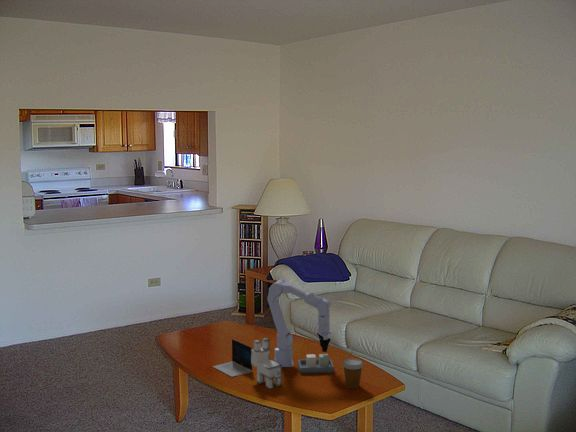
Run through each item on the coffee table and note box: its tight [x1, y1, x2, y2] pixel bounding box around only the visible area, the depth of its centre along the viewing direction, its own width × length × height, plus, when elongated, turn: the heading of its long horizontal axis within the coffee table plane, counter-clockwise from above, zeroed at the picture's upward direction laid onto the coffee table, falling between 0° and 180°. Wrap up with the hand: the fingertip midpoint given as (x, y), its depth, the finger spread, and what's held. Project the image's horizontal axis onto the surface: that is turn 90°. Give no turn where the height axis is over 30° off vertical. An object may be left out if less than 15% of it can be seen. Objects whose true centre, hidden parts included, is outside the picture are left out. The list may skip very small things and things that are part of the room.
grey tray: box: [297, 358, 335, 375], centre depth 334 cm, size 17×12×3 cm
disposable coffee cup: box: [342, 358, 364, 390], centre depth 311 cm, size 10×10×12 cm
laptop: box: [212, 338, 253, 378], centre depth 333 cm, size 18×12×13 cm
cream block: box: [305, 353, 317, 367], centre depth 334 cm, size 4×4×6 cm
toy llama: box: [251, 337, 283, 390], centre depth 315 cm, size 8×18×20 cm, turn 37°
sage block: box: [318, 353, 330, 367], centre depth 334 cm, size 4×4×6 cm
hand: (323, 349), depth 333 cm, fingers open, 7 cm apart
